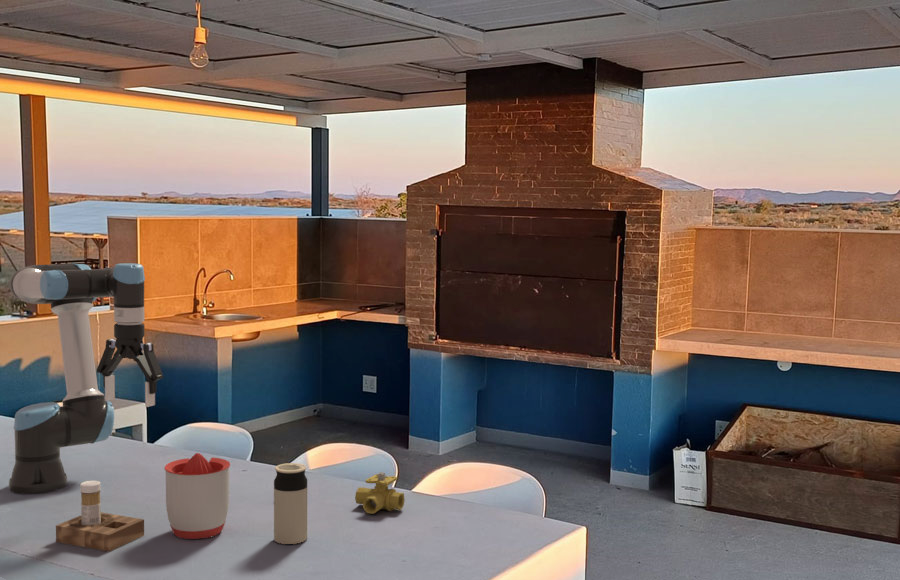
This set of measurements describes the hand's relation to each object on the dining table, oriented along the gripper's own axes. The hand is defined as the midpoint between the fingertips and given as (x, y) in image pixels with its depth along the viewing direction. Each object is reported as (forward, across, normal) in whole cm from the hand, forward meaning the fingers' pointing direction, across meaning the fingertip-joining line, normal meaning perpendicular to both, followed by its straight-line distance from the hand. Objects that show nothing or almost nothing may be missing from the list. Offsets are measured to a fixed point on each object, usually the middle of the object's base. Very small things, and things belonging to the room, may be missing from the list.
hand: (129, 403), depth 245 cm
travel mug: (+28, +51, -1) cm, 58 cm away
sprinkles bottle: (+28, +7, -21) cm, 36 cm away
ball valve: (+28, +59, +28) cm, 71 cm away
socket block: (+28, +10, -21) cm, 36 cm away
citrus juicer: (+28, +27, -6) cm, 40 cm away
